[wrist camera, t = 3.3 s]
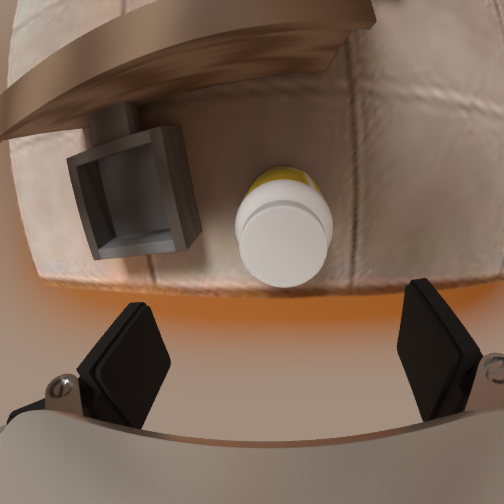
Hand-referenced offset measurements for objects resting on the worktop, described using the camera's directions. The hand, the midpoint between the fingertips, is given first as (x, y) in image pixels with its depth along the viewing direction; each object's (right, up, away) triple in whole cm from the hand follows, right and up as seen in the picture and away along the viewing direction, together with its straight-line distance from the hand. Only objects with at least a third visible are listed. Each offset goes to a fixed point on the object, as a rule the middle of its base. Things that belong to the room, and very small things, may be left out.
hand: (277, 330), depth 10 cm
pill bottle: (+2, +7, +15) cm, 17 cm away
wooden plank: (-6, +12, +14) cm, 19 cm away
